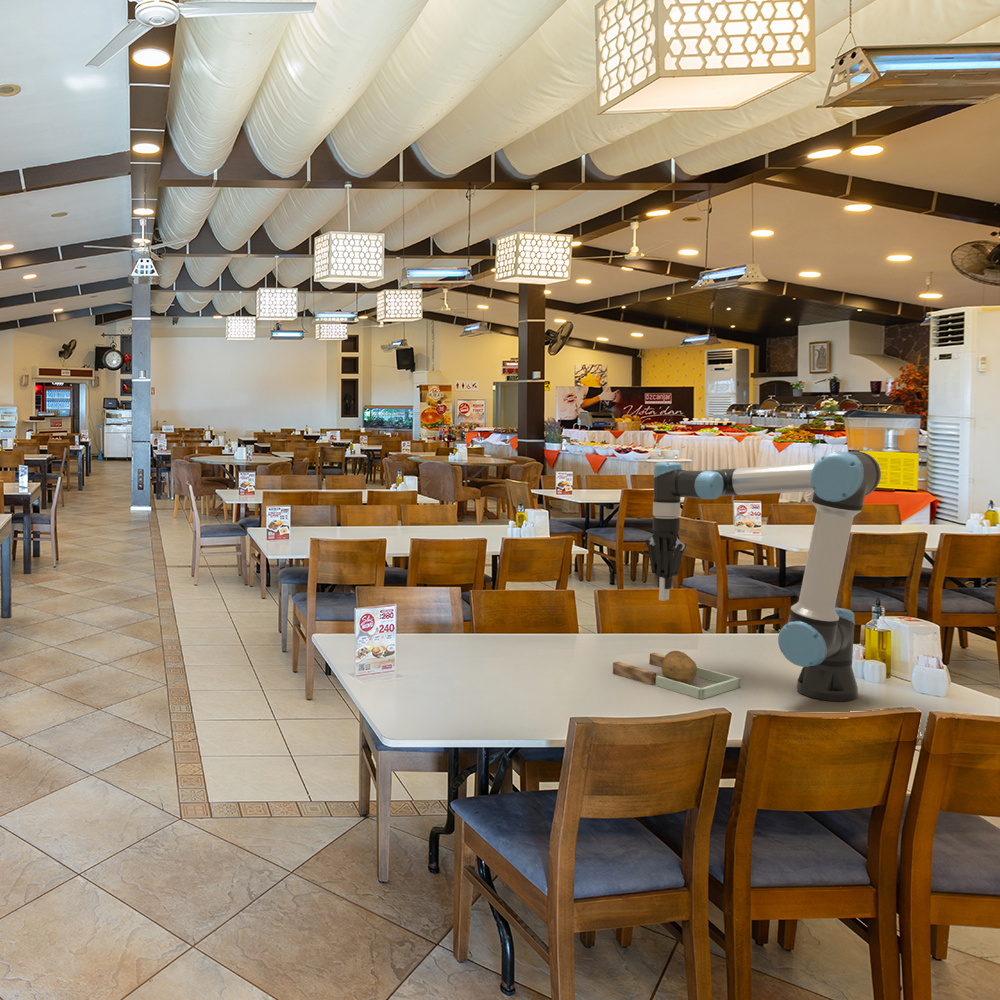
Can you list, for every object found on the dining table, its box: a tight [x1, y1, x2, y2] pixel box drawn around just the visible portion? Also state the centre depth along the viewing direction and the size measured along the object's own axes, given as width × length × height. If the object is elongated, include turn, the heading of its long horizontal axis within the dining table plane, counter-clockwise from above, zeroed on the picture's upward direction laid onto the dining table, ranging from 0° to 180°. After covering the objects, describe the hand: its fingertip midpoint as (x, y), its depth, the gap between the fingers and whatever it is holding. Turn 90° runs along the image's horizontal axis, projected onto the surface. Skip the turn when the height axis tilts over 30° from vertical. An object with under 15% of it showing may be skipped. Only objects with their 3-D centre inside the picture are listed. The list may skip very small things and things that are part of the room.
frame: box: [655, 666, 741, 700], centre depth 235 cm, size 15×17×2 cm
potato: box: [660, 650, 698, 685], centre depth 237 cm, size 10×14×8 cm
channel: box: [612, 652, 666, 686], centre depth 246 cm, size 14×18×3 cm
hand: (664, 599), depth 247 cm, fingers closed
